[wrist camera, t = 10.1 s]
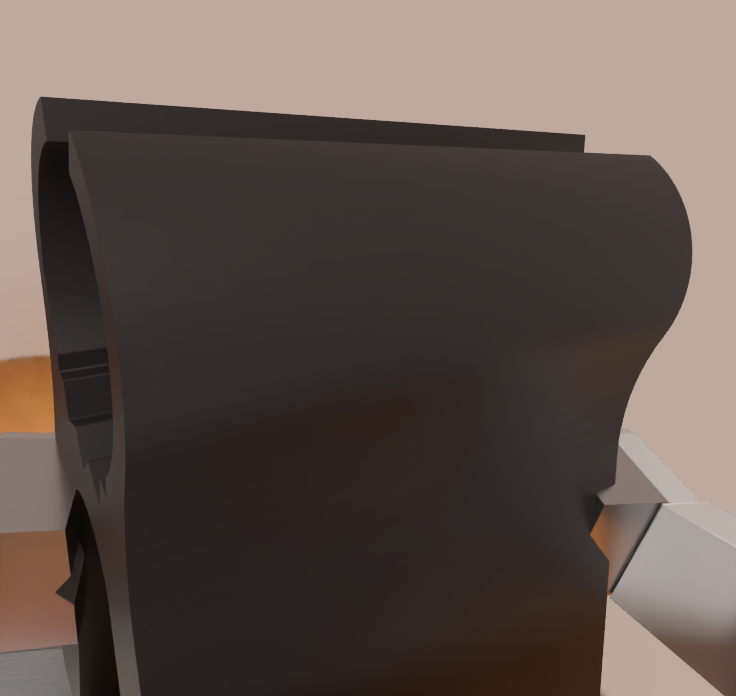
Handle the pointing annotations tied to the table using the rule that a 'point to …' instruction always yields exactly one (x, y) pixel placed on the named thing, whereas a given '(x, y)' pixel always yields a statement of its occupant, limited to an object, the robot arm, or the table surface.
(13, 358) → the table surface
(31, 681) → the track rails
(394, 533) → the phone stand
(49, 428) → the table surface
